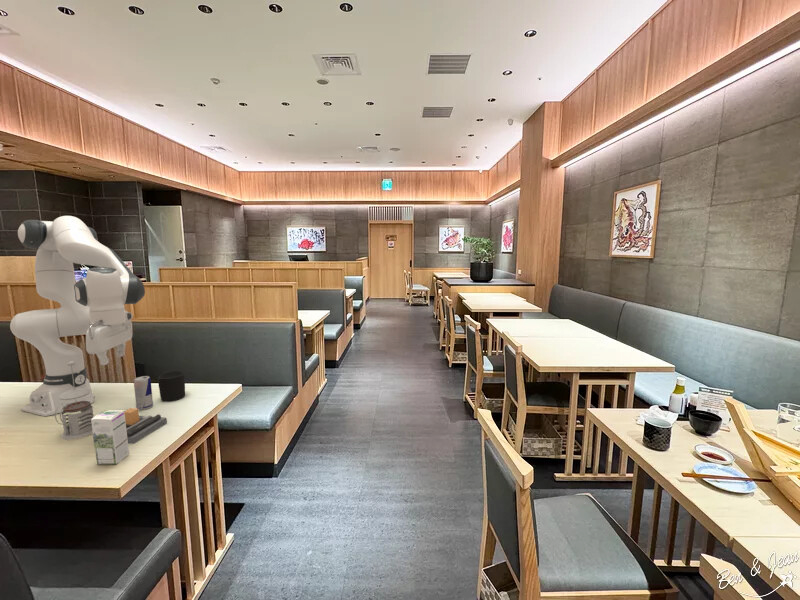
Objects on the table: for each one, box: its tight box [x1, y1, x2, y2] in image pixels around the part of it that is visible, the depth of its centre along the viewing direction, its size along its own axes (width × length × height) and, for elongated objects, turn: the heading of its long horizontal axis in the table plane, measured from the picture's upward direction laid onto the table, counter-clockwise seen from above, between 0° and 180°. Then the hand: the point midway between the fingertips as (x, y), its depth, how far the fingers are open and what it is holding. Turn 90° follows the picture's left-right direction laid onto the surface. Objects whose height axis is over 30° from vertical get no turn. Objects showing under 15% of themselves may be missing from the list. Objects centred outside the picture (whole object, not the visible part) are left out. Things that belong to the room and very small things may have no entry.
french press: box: [54, 361, 94, 441], centre depth 120 cm, size 10×12×25 cm
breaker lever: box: [124, 407, 140, 427], centre depth 122 cm, size 3×3×5 cm
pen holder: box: [157, 370, 186, 403], centre depth 150 cm, size 9×9×10 cm
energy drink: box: [133, 375, 154, 411], centre depth 140 cm, size 5×5×12 cm
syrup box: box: [91, 409, 130, 465], centre depth 106 cm, size 6×6×14 cm
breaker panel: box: [126, 413, 168, 445], centre depth 123 cm, size 14×14×4 cm
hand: (113, 360), depth 116 cm, fingers open, 8 cm apart
